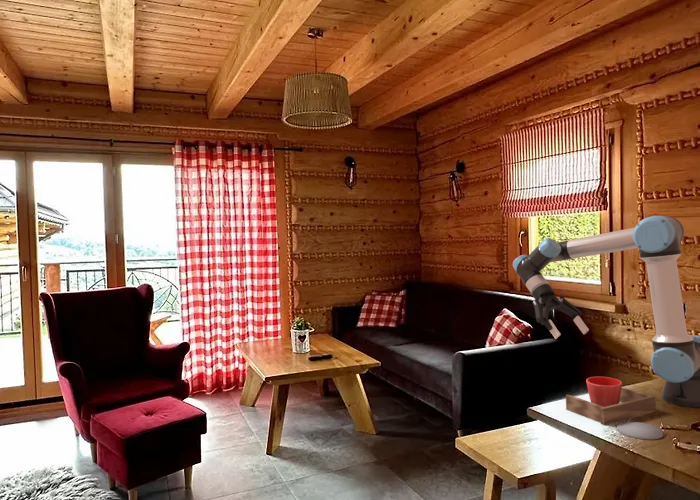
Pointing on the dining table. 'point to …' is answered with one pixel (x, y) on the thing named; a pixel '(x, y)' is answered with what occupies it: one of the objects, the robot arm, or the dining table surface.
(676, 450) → the dining table surface
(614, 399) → the flower pot
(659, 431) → the slate mat
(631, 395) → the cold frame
